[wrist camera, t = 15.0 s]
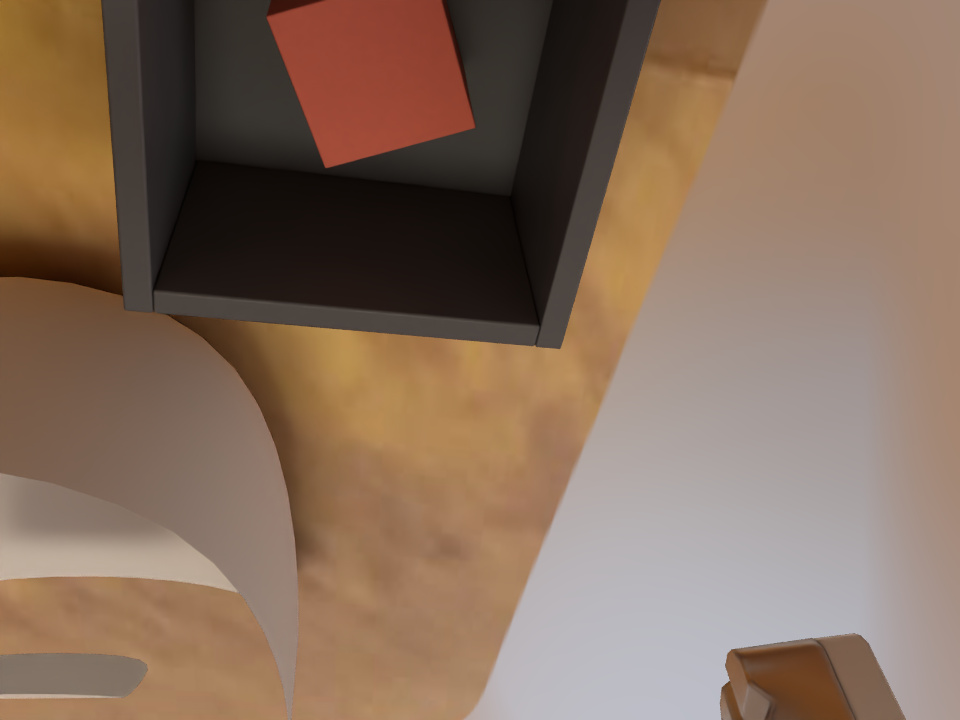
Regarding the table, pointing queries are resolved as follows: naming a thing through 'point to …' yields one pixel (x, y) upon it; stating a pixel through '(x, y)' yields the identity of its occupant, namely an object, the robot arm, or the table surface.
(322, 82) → the toy block
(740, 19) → the table surface
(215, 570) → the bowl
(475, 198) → the bin
